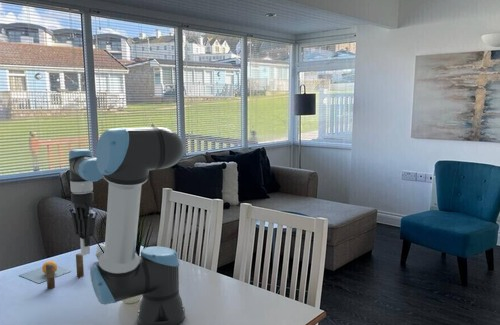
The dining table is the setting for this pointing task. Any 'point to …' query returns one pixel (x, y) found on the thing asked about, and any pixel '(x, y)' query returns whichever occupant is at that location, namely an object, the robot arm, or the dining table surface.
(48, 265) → the left post
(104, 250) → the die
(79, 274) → the right post
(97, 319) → the dining table surface
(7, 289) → the dining table surface
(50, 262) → the ball
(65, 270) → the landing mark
